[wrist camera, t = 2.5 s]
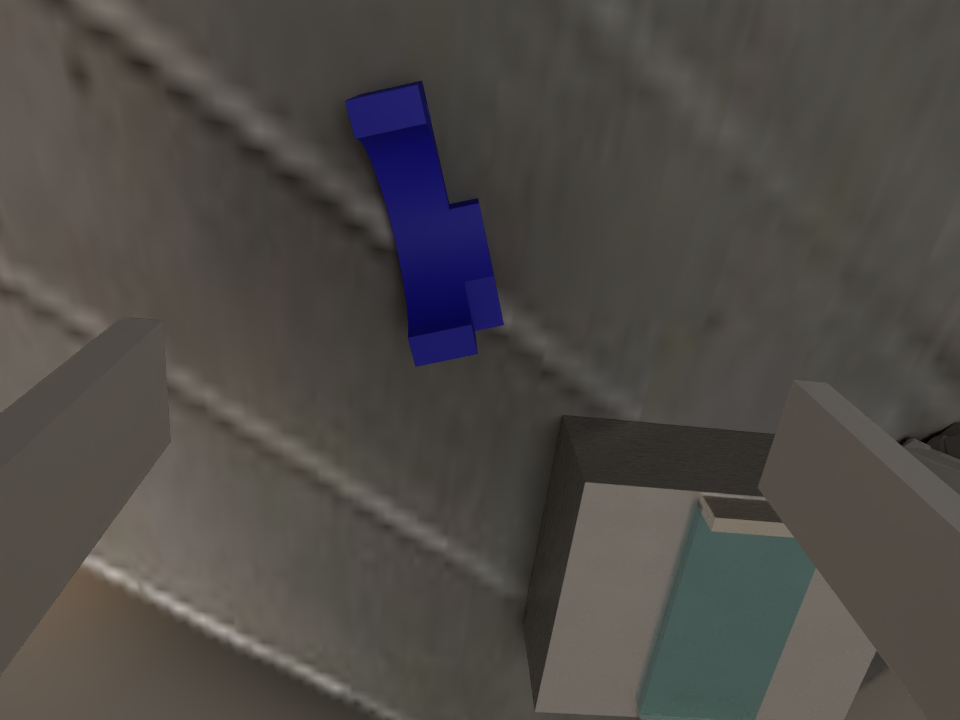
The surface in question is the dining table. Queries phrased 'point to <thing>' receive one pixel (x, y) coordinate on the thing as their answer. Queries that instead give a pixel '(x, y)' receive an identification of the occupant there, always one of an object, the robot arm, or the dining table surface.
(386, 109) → the blue stepped piece
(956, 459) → the electrical switch
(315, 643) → the dining table surface
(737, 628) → the white boxy block
